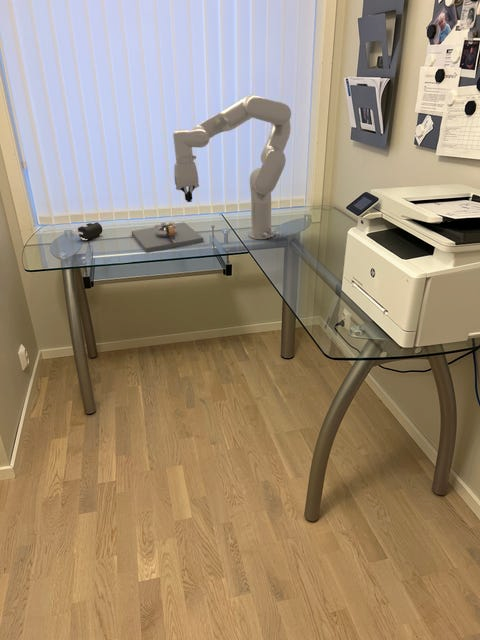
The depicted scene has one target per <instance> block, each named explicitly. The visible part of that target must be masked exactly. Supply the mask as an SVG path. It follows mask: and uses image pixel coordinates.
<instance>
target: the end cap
mask: <svg viewBox="0 0 480 640" xmlns="http://www.w3.org/2000/svg"><path fill="white" fill-rule="evenodd" d="M77 232H78V237H79V238H81V237H82V238H85V239H90V240H92V239H94V238H96V236H97V237H98V235H99V236H100V235H101V234H102V233H103V227H102V225H101V224H100V222H97V221H96V222H94V223H91V222H90V223H86V226H79V227H77ZM79 232H80V233H79ZM81 233H82V234H81ZM91 238H92V239H91Z"/></svg>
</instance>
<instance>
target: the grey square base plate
mask: <svg viewBox="0 0 480 640" xmlns="http://www.w3.org/2000/svg"><path fill="white" fill-rule="evenodd" d="M174 225H176V232H177V233H176V235H175V239H174V240H171V239H170V238H169V237H158V236H156V231H155V226H154V227H148V228H141V229H135V230H131V236H132V237H133V238H134V239H135V240H136V242H138V244H139V245H140V246H141V247H142V249H143V250H144V251H145V253H150V252H156V251H160V250H161V251H162V250H167V249H171V248H177V247H183V246H189V245H194V244H198V243H199V244H200V243H204V236H202V235H201V234H199V233H198V232H197V231H196V230H195V229H193V228H192V227H191V226H190V225H188V224H187V223H186V222H184V221H182V222H177V223H174Z"/></svg>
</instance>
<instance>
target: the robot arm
mask: <svg viewBox="0 0 480 640" xmlns="http://www.w3.org/2000/svg"><path fill="white" fill-rule="evenodd" d="M291 116H292V110H291V108H290V106H289V105H287V103H283V102H281V101H275V100H272V99H268V98H265V97H262V96H259V95H257V94H248V95H247V96H245V97H243V98H242V99H240V100H238V101H236V102H234V104H232V105H230V106H229V107H227V108H225V109H223V110H222V111H220V112H218V113H217V114H214V115H213V116H211V117H209V118H208V119H206V120H204V121H202V122H200V123H199V124H197V125H196V126H195V127H193V128H192V129H191V130H189V129H177V130H174V131H173V135H172V137H173V138H172V139H173V145H174V153H175V162H176V163H174V170H173V173H174V175H173V176H174V184H175V189H176V190H177V191H182V192H183V193H184V200H185V201H186V202H187V203H192V201H193V192H194V190H195V189H197V188H199V187H200V184H199V175H198V170H197V165H196V162H195V161H194V160H196V159H197V156H196V155H194V154H193V148H201V149H202V148H205V147H206V146H207V145H208V144H209V142H210V139H211V138H213V137H215V136H216V135H219V134H221V133H224V132H230V131H232V130H234V129H236V128H238V127H240V125H243V124H244V123H246V122H247V121H250V120H251V119H256V120H259V121H263V122H266V123H271V127H270V129H271V130H270V132H269V136H268V138H267V140H266V142H265V146H264V148H263V150H262V152H261V153H260V161H261V163H262V165H261V167H258V168H255V169H254V170H253V171H252V172H251V174H250V176H249V189H250V191H249V192H250V209H251V210H250V212H251V213H250V214H251V215H250V216H251V217H250V218H251V230H250V231H249V232H248V237H249V238H250V239H254V240H268V239H267V238H269V239H271V238H270V237H272V238H273V237H275V231H273V230H272V192H273V191H274V190H275V188H276V186H277V184H278V181H279V179H280V178H281V176H282V173H283V171H284V170H285V166H286V160H287V159H286V155H285V153H284V151H285V149H286V146H287V143H288V142H289V138H290V135H291V129H292V128H291V121H290V120H291Z"/></svg>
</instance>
